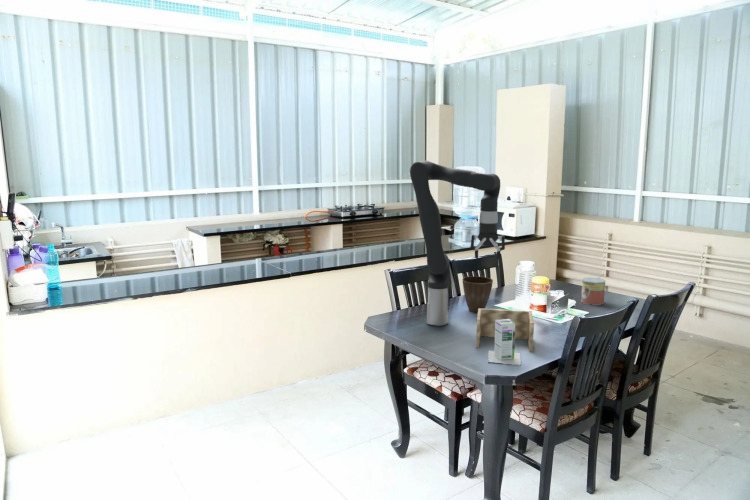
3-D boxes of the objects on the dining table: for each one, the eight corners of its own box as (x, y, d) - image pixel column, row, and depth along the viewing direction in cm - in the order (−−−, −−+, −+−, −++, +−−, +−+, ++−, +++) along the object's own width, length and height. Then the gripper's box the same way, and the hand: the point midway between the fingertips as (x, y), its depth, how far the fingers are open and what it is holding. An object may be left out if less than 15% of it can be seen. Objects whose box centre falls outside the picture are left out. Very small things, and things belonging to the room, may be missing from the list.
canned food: (576, 300, 280) (577, 278, 278) (593, 298, 284) (595, 277, 282) (590, 305, 270) (592, 283, 268) (608, 304, 273) (610, 281, 271)
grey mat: (487, 362, 197) (487, 361, 197) (488, 351, 208) (488, 350, 208) (520, 365, 194) (521, 364, 194) (519, 353, 205) (519, 352, 205)
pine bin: (476, 347, 212) (476, 319, 210) (477, 334, 227) (478, 308, 225) (532, 352, 207) (534, 323, 205) (530, 338, 222) (531, 311, 220)
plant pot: (492, 307, 269) (493, 276, 266) (491, 315, 254) (492, 283, 252) (463, 305, 272) (463, 275, 269) (460, 313, 258) (461, 282, 255)
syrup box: (500, 360, 198) (501, 323, 195) (493, 354, 203) (495, 319, 201) (514, 359, 199) (515, 322, 196) (507, 353, 205) (508, 318, 202)
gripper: (505, 220, 223) (504, 258, 226) (471, 220, 226) (470, 257, 229) (505, 223, 216) (504, 261, 219) (470, 222, 219) (469, 260, 222)
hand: (487, 259), depth 224 cm, fingers open, 8 cm apart
